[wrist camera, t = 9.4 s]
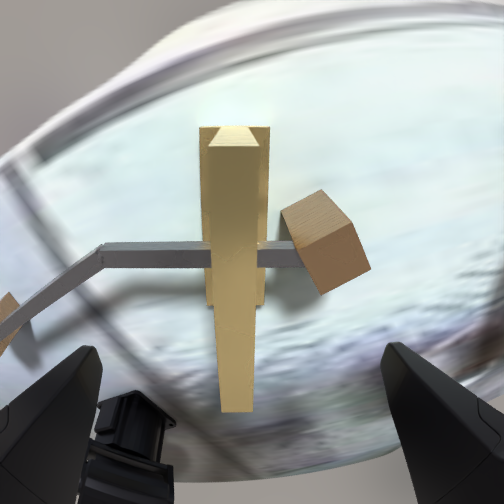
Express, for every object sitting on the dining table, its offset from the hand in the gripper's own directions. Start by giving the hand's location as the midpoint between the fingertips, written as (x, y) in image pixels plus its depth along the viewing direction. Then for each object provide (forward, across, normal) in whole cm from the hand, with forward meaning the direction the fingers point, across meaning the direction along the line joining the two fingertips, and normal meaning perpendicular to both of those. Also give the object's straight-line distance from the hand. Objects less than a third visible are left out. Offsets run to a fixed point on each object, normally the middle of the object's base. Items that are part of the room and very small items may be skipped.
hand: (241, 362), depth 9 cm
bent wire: (+13, +8, +5) cm, 16 cm away
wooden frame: (+13, 0, 0) cm, 13 cm away
